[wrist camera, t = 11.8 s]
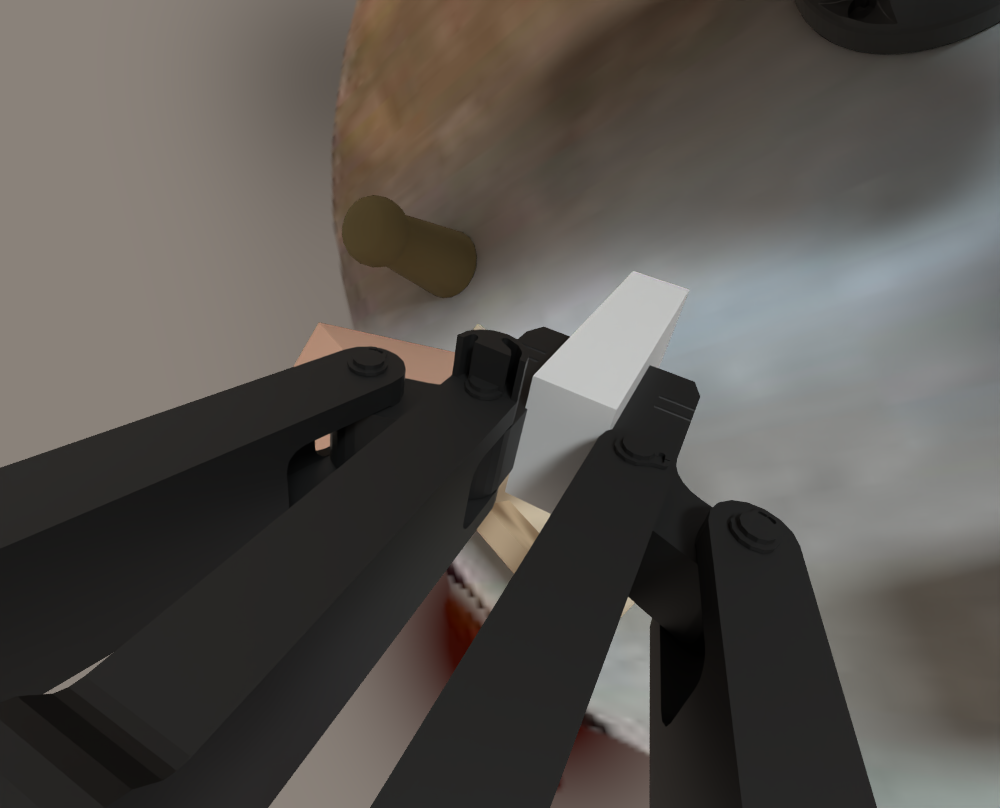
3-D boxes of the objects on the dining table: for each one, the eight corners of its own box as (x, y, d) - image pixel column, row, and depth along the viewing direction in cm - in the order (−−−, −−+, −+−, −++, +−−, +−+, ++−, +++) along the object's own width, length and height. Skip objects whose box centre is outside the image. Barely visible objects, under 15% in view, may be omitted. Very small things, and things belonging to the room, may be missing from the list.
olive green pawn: (434, 310, 51) (342, 281, 41) (414, 255, 52) (320, 215, 43) (486, 274, 48) (400, 234, 39) (462, 217, 50) (374, 165, 40)
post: (430, 409, 49) (274, 398, 36) (468, 355, 48) (318, 322, 34) (473, 455, 47) (322, 462, 33) (514, 399, 45) (372, 383, 31)
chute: (413, 422, 51) (383, 421, 48) (480, 324, 48) (453, 316, 45) (603, 635, 41) (582, 653, 38) (705, 529, 38) (691, 538, 34)
